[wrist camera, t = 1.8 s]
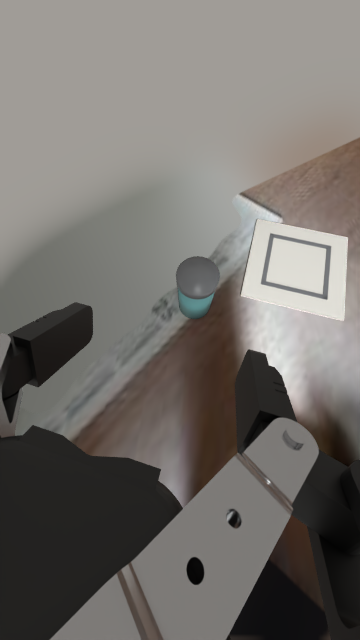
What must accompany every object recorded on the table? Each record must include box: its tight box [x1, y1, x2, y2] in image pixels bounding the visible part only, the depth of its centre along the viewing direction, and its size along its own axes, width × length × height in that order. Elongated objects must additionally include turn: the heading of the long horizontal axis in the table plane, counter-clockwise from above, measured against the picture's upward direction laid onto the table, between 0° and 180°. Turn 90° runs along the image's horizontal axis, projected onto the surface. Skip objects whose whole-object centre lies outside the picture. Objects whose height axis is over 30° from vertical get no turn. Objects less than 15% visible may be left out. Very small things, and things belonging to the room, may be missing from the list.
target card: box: [240, 219, 348, 321], centre depth 31 cm, size 14×14×1 cm
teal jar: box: [176, 256, 220, 319], centre depth 26 cm, size 5×5×8 cm
